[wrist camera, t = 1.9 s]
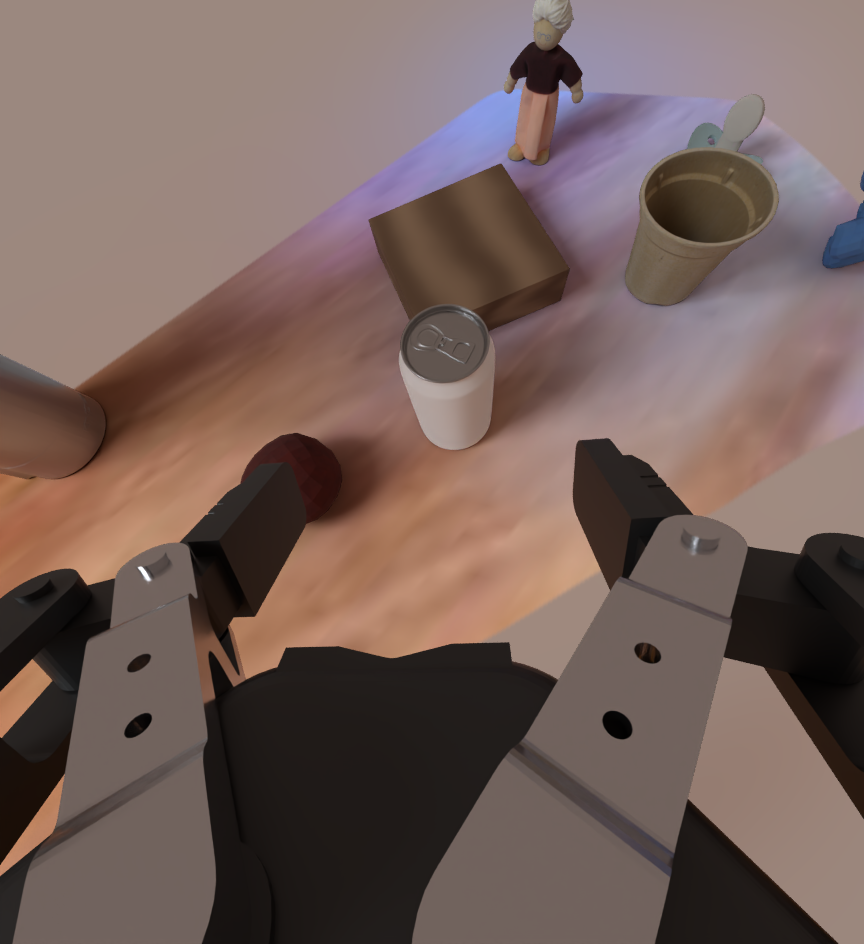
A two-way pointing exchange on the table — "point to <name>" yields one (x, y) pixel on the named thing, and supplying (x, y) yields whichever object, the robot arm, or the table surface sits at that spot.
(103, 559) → the table surface
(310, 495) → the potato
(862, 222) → the grapes
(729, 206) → the flower pot
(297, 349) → the table surface
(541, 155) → the grandmother figurine
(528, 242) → the walnut block
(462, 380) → the can
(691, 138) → the pacifier
